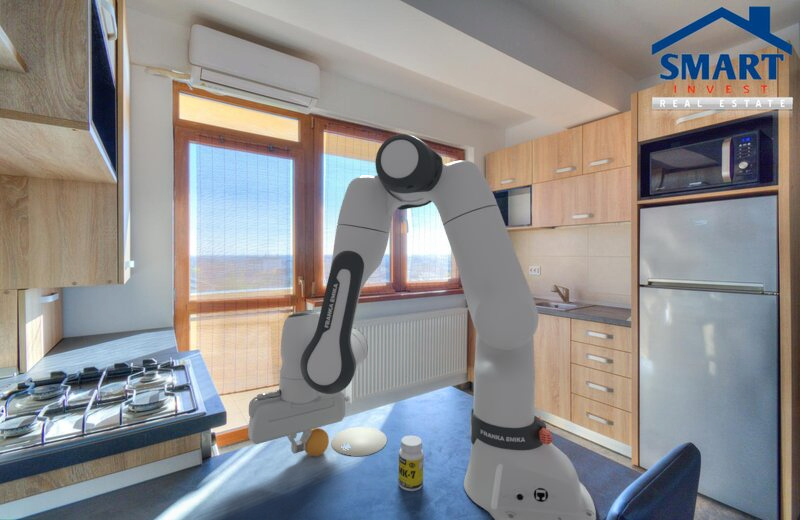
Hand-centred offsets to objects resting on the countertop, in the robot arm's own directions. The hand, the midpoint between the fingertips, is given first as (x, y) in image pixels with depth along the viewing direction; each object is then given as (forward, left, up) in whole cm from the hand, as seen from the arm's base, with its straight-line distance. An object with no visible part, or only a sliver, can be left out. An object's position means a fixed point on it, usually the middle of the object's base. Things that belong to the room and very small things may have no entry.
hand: (298, 451), depth 74 cm
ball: (-2, -3, +1) cm, 4 cm away
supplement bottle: (-25, +1, -2) cm, 25 cm away
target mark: (-10, -11, -2) cm, 15 cm away
